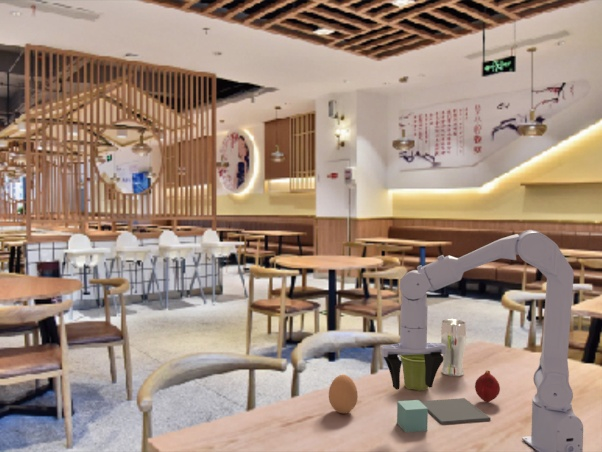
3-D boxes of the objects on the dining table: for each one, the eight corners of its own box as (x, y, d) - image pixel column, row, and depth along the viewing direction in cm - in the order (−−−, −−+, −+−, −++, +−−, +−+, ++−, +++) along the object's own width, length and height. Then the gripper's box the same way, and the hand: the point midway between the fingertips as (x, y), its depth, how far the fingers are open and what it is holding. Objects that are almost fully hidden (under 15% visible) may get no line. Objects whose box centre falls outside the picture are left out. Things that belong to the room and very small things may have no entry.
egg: (323, 409, 125) (324, 372, 124) (349, 405, 127) (349, 369, 127) (335, 420, 118) (336, 381, 118) (362, 416, 121) (362, 378, 120)
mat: (490, 420, 119) (490, 417, 119) (441, 424, 117) (441, 421, 117) (464, 400, 131) (464, 398, 131) (419, 403, 129) (419, 401, 129)
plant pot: (442, 390, 138) (442, 357, 138) (413, 395, 134) (413, 362, 133) (419, 379, 146) (420, 348, 146) (391, 384, 142) (392, 352, 142)
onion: (501, 407, 126) (502, 375, 126) (476, 405, 128) (477, 373, 127) (497, 398, 132) (498, 367, 132) (473, 397, 133) (474, 366, 133)
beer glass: (435, 371, 153) (436, 320, 153) (453, 368, 156) (454, 318, 156) (451, 378, 147) (452, 325, 146) (470, 375, 150) (471, 323, 149)
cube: (427, 431, 114) (427, 408, 113) (405, 432, 113) (405, 409, 112) (417, 421, 118) (418, 399, 118) (397, 423, 117) (397, 401, 117)
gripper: (436, 320, 120) (435, 378, 120) (376, 322, 117) (375, 382, 118) (451, 327, 113) (449, 389, 113) (387, 330, 110) (385, 393, 111)
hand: (412, 386), depth 115 cm, fingers open, 7 cm apart
